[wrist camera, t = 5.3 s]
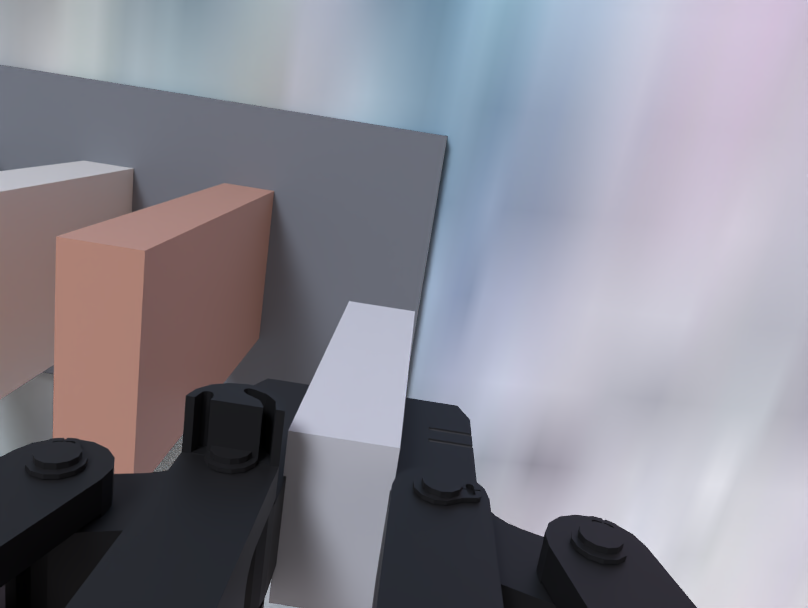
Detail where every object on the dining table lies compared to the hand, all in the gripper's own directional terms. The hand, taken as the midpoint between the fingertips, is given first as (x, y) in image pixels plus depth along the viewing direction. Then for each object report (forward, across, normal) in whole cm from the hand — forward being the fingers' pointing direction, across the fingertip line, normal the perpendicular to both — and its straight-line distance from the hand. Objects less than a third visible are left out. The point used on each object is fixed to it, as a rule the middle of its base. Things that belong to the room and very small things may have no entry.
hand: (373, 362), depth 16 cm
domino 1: (+7, -5, 0) cm, 9 cm away
